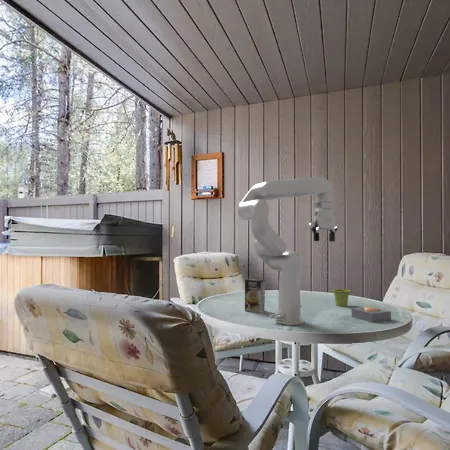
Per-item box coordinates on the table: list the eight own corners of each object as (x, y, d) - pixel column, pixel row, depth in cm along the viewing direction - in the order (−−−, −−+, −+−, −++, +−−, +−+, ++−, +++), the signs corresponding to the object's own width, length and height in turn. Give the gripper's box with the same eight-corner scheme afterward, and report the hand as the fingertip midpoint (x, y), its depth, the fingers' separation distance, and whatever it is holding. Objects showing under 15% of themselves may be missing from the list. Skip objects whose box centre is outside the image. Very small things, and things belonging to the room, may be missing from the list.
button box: (372, 322, 141) (372, 313, 141) (351, 316, 152) (351, 308, 152) (391, 320, 146) (390, 311, 146) (369, 314, 157) (369, 306, 157)
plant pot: (339, 307, 174) (339, 291, 174) (329, 304, 183) (329, 289, 183) (353, 306, 176) (353, 291, 177) (343, 303, 185) (343, 288, 186)
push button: (371, 316, 145) (371, 309, 146) (361, 313, 151) (361, 307, 151) (380, 315, 148) (380, 308, 148) (370, 312, 153) (370, 306, 153)
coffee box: (244, 311, 163) (244, 279, 164) (249, 308, 168) (249, 278, 169) (260, 313, 159) (260, 280, 159) (265, 310, 164) (265, 279, 165)
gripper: (315, 204, 148) (315, 240, 147) (343, 206, 155) (343, 241, 154) (304, 206, 155) (305, 241, 154) (332, 207, 162) (332, 241, 161)
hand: (324, 241), depth 154 cm, fingers open, 9 cm apart
